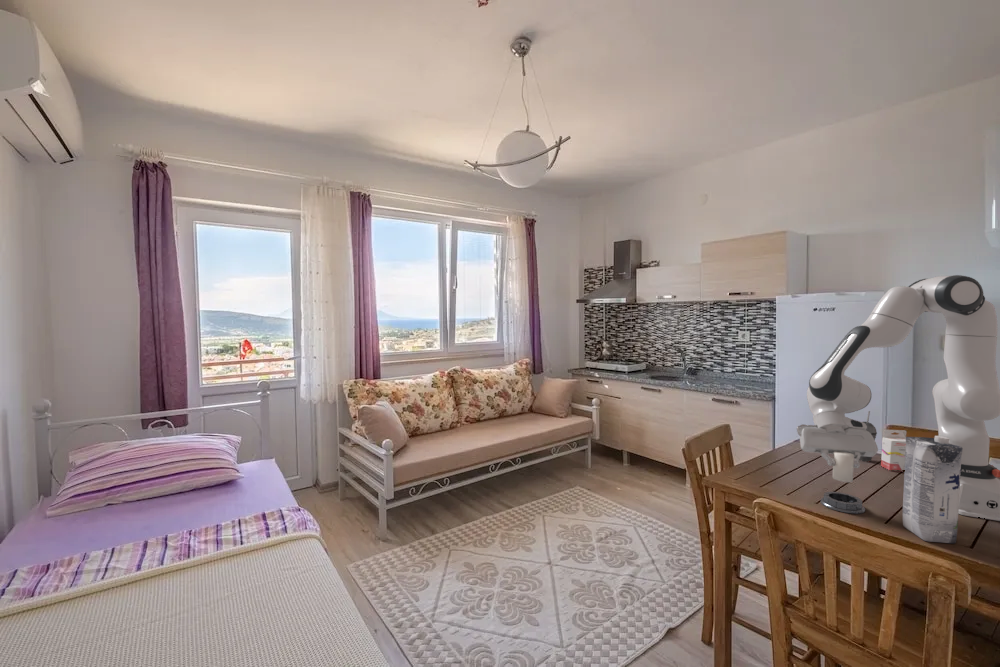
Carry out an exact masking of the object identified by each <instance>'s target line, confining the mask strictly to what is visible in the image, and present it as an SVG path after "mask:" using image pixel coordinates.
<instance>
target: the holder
mask: <svg viewBox="0 0 1000 667" xmlns="http://www.w3.org/2000/svg"><path fill="white" fill-rule="evenodd" d="M820 504H821V505H822V506H824V507H825V508H828V509H830V510H833V511H835V510H836V512H839V511H840V512H839V513H843V512H844V513H845V514H849V515H861V514H863V513H866V508H865V506H864V505H863V500H862V499H861V498H859V497H858V496H855V495H852V494H850V493H845V492H839V491H827V492H824V493H823V497H822V498H820Z"/></svg>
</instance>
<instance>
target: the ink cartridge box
mask: <svg viewBox="0 0 1000 667" xmlns="http://www.w3.org/2000/svg"><path fill="white" fill-rule="evenodd" d="M894 433H896V434H894ZM906 437H907V430H902V429H901V430H900V429H884V430H883V435H882V438H881V440H882V443H881V459H880V467H881V466H882V467H881V468H883V467H884V468H883V469H885V468H886V469H885V470H887V469H888V470H887V471H889V470H905V452H906Z"/></svg>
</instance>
